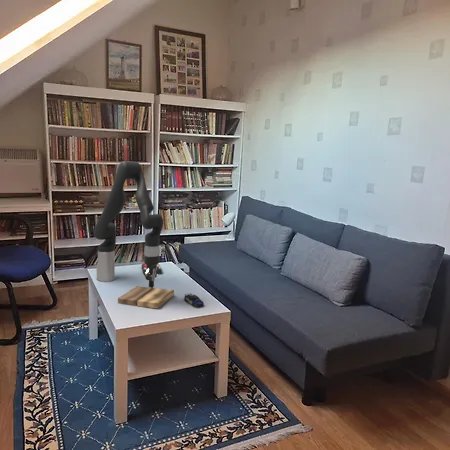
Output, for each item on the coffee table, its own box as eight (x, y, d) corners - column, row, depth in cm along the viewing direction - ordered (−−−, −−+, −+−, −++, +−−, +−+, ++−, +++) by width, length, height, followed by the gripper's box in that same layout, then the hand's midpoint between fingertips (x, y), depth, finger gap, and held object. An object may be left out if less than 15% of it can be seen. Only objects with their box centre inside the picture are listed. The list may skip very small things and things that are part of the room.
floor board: (117, 303, 196) (117, 297, 196) (137, 290, 215) (137, 285, 215) (136, 306, 194) (136, 300, 193) (154, 292, 213) (154, 287, 212)
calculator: (158, 262, 259) (161, 267, 245) (158, 268, 260) (161, 274, 245) (141, 263, 256) (143, 268, 242) (141, 269, 256) (143, 275, 242)
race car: (209, 307, 197) (209, 299, 196) (198, 311, 192) (198, 302, 192) (190, 298, 208) (190, 290, 207) (180, 301, 203) (180, 293, 202)
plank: (137, 305, 194) (137, 300, 193) (155, 292, 213) (155, 288, 212) (158, 308, 191) (158, 303, 190) (174, 294, 210) (174, 289, 209)
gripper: (150, 250, 206) (150, 282, 209) (138, 256, 193) (138, 290, 196) (164, 251, 204) (163, 284, 207) (152, 258, 191) (152, 292, 194)
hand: (151, 287), depth 202 cm, fingers closed
